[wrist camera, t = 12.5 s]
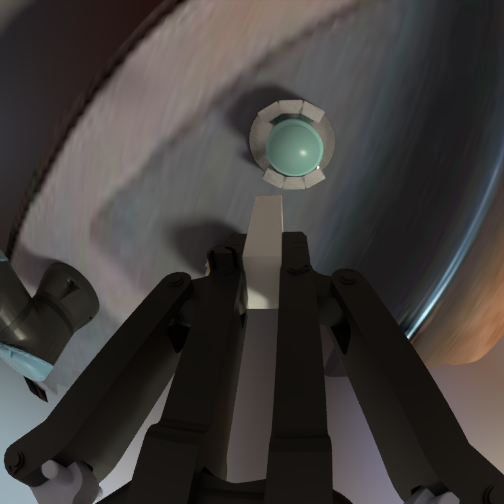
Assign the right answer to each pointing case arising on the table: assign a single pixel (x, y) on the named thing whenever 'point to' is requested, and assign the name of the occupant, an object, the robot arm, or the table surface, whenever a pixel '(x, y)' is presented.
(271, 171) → the grey ring-shaped piece
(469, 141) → the table surface
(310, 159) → the teal rounded cylinder
